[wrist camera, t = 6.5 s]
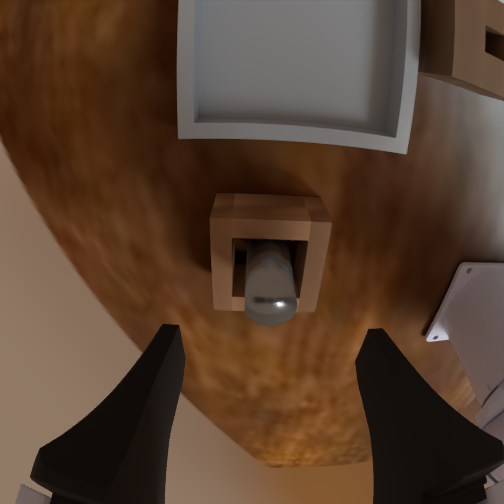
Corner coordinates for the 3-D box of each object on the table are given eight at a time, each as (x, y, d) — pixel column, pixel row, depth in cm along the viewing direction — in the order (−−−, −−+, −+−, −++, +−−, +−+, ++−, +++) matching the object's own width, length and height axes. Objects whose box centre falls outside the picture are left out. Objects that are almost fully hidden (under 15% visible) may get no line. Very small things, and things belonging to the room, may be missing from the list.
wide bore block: (320, 197, 17) (332, 222, 14) (307, 279, 20) (314, 312, 17) (216, 192, 17) (209, 218, 14) (218, 276, 20) (214, 309, 17)
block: (483, 20, 10) (527, 20, 6) (479, 94, 13) (523, 107, 9) (413, -11, 10) (453, -24, 6) (410, 71, 12) (452, 76, 9)
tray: (399, -33, 9) (419, -43, 7) (388, 142, 15) (406, 154, 13) (193, -55, 9) (184, -72, 7) (188, 129, 15) (178, 139, 13)
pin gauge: (287, 219, 17) (300, 287, 12) (284, 252, 19) (294, 326, 14) (248, 217, 17) (244, 285, 12) (247, 250, 19) (243, 324, 14)
